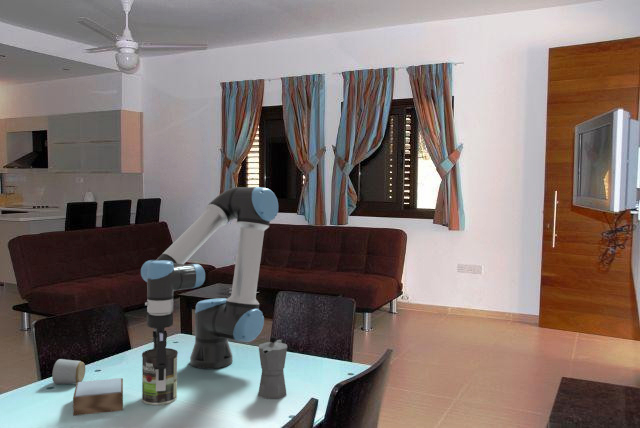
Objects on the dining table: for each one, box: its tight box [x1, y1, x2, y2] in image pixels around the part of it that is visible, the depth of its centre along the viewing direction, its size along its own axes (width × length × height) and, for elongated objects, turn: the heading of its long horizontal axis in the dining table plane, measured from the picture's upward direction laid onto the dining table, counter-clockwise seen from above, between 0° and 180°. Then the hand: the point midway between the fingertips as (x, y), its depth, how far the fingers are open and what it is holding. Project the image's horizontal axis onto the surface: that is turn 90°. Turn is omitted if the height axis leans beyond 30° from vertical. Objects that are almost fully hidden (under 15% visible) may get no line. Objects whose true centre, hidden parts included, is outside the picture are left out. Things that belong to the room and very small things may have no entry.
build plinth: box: [72, 377, 124, 416], centre depth 164 cm, size 13×13×5 cm
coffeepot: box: [258, 336, 288, 400], centre depth 175 cm, size 15×9×18 cm, turn 162°
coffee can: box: [141, 347, 179, 406], centre depth 169 cm, size 10×10×14 cm
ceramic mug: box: [51, 358, 86, 385], centre depth 183 cm, size 11×8×8 cm
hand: (159, 383), depth 169 cm, fingers open, 13 cm apart
